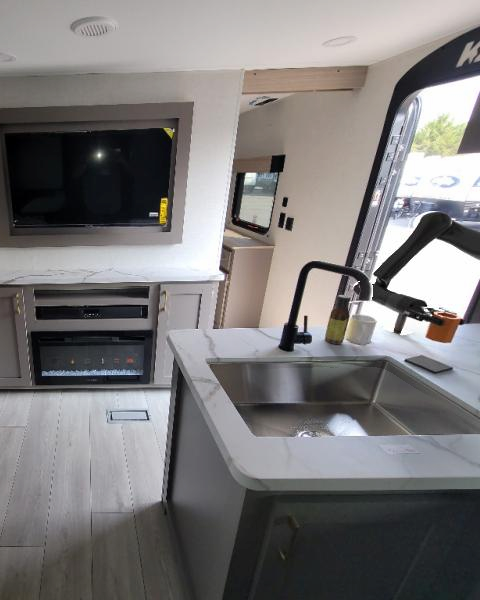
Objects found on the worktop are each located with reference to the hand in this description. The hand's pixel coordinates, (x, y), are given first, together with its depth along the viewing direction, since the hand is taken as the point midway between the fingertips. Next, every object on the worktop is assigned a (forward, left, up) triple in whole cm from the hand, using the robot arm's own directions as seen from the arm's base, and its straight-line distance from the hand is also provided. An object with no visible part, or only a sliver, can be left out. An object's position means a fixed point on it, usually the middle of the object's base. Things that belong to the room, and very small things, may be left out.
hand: (453, 322), depth 109 cm
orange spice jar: (-1, -2, -7) cm, 8 cm away
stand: (-19, -23, -18) cm, 35 cm away
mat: (-1, -2, -18) cm, 18 cm away
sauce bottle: (+13, -26, -18) cm, 34 cm away
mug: (+5, -22, -18) cm, 29 cm away
